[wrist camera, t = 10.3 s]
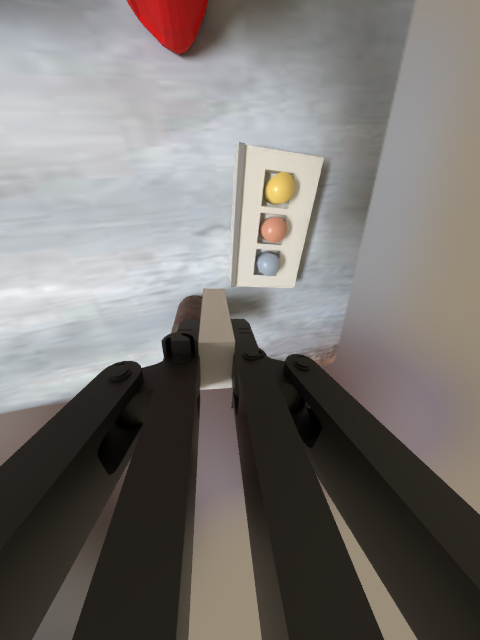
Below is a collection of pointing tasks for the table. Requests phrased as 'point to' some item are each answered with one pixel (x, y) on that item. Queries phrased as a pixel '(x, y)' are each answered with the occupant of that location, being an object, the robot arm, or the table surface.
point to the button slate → (267, 263)
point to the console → (269, 213)
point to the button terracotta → (273, 229)
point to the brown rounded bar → (188, 311)
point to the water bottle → (171, 20)
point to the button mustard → (279, 188)
